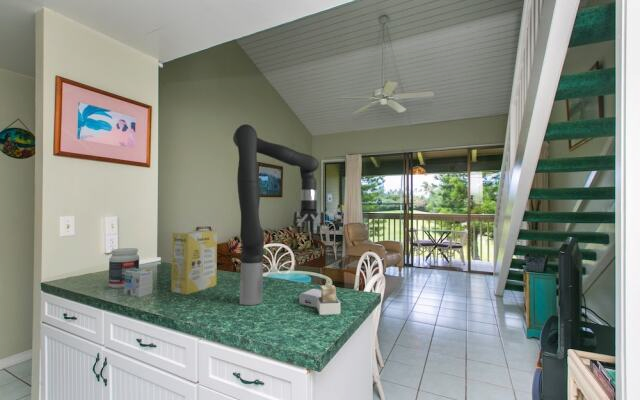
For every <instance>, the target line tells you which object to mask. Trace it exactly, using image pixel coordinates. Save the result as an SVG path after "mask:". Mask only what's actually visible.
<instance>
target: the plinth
mask: <svg viewBox="0 0 640 400" xmlns="http://www.w3.org/2000/svg"><path fill="white" fill-rule="evenodd" d="M316 308H317V311H318V315H320V316H321V315H322V316H323V315H341V301H340V300H339V299H338V298H337V296H336V302H323V301H322V299H321V297H318V298H317V307H316Z"/></svg>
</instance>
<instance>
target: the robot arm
mask: <svg viewBox="0 0 640 400" xmlns="http://www.w3.org/2000/svg"><path fill="white" fill-rule="evenodd" d="M232 139H233V144H234V145H235V146H236V147H237V151H238V165H237V166H238V167H237V178H236V179H237V182H236V183H237V197H238V201H239V202H238V203H239V204H238V205H239V209H240V235H239V236H240V240H241V242H242V246H241V248H242V250H241V255H240V281H239V305H245V306H255V305H259V304H261V303H263V297H264V296H263V293H264V292H263V291H264V290H263V289H264V288H263V286H264V285H263V284H264V279H263V278H264V254H265V253H264V250H265V247H264V246H265V245H264V244H265V233H264V229H263V228H262V227H261V221H260V215H259V214H260V212H259V211H260V200H261V185H260V174H259V167H258V166H259V165H258V160H257V159H258V156H257V155H258V154H260V155H264V156H267V157H268V158H269V157H270V158H272V159H275V160H277V161H279V162H281V163H284V164H287V165H289V166H293V167H299V172H300V178H301V179H300V180H301V191H300V212H296V211H294V212H293V225H294V226H296V227H297V228H296V232H297V234H298V235H301V225H302V224H303V223H304V222H314V223H315V224H316V235H319V234H321V233H320V232H321V226H325V216H324V215H325V214H324V212H323V211H322V212H321V211H320V212H318V193H317V179H316V178H315V176H314V175H315V174H314V172H315V171H317V170H318V169H319V167H320V164H319V160H318V159H317V158H316V157H315V156H314V155H310V154H308V153H307V154H306V153H304V152H299V151H297V150H295V149H292V148H290V147H287V146H286V145H283V144H278V143H273V142H269V141H266V140H263V139H261V138H259V137H258V133H257V131H256V129H255V128H254V127H253V126H252V125H250V124H247V123H246V124H245V123H243V124H241V125H239V126H238V127H237V129H236V130H235V131H234V133H233V137H232ZM257 153H258V154H257ZM299 216H300V217H301V219H300V220H299V221H298V222H297V218H298V217H299ZM317 216H318V217H319V218H320V222H319V221H318V219H317Z"/></svg>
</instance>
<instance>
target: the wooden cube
mask: <svg viewBox="0 0 640 400" xmlns="http://www.w3.org/2000/svg"><path fill="white" fill-rule="evenodd" d="M320 290H321V299H322V301H323V302H336V297H337V288H336V286H335V285H333V284H328V285H327V284H325V285H321V286H320Z"/></svg>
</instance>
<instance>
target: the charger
mask: <svg viewBox="0 0 640 400" xmlns="http://www.w3.org/2000/svg"><path fill="white" fill-rule="evenodd" d="M298 297H299V299H298V300H299V301H298V302H299V304H300V305H303V306H308V307H313V308H317V298H318V297H321V289H316V288H311V289H308V290H306V291H303V292H301V293H299V296H298Z"/></svg>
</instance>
